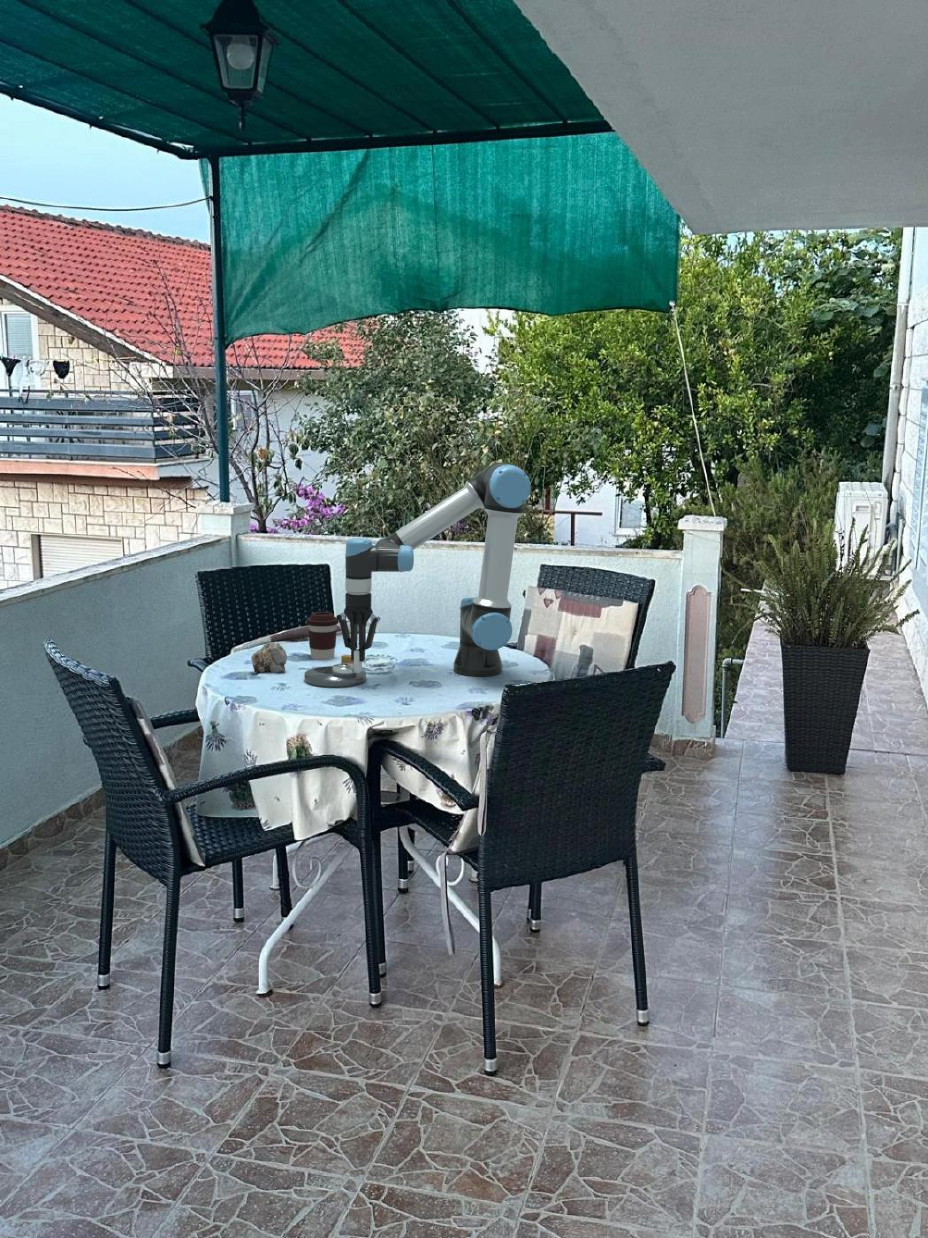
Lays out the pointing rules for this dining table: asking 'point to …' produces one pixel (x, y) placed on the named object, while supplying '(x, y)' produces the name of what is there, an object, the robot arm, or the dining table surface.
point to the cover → (344, 670)
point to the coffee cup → (322, 635)
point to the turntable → (327, 680)
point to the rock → (269, 658)
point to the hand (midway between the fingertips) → (357, 671)
